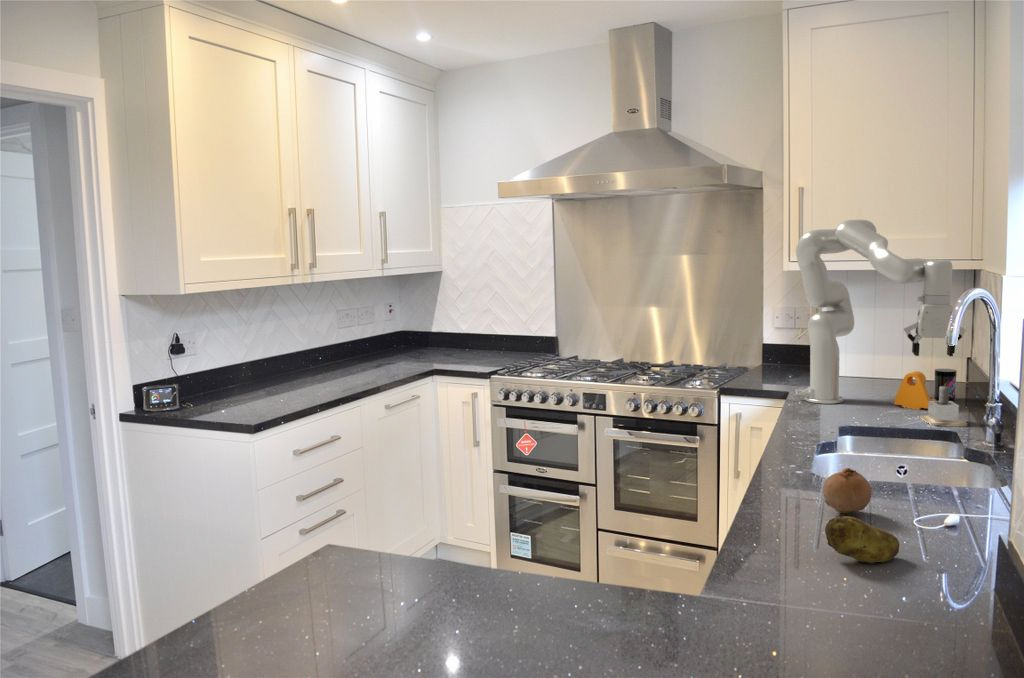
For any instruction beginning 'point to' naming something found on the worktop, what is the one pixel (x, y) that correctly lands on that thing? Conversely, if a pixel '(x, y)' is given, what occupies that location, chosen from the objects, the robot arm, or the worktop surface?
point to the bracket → (913, 392)
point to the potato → (860, 540)
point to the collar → (943, 411)
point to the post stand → (943, 401)
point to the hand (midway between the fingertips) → (932, 355)
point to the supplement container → (945, 382)
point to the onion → (847, 491)
